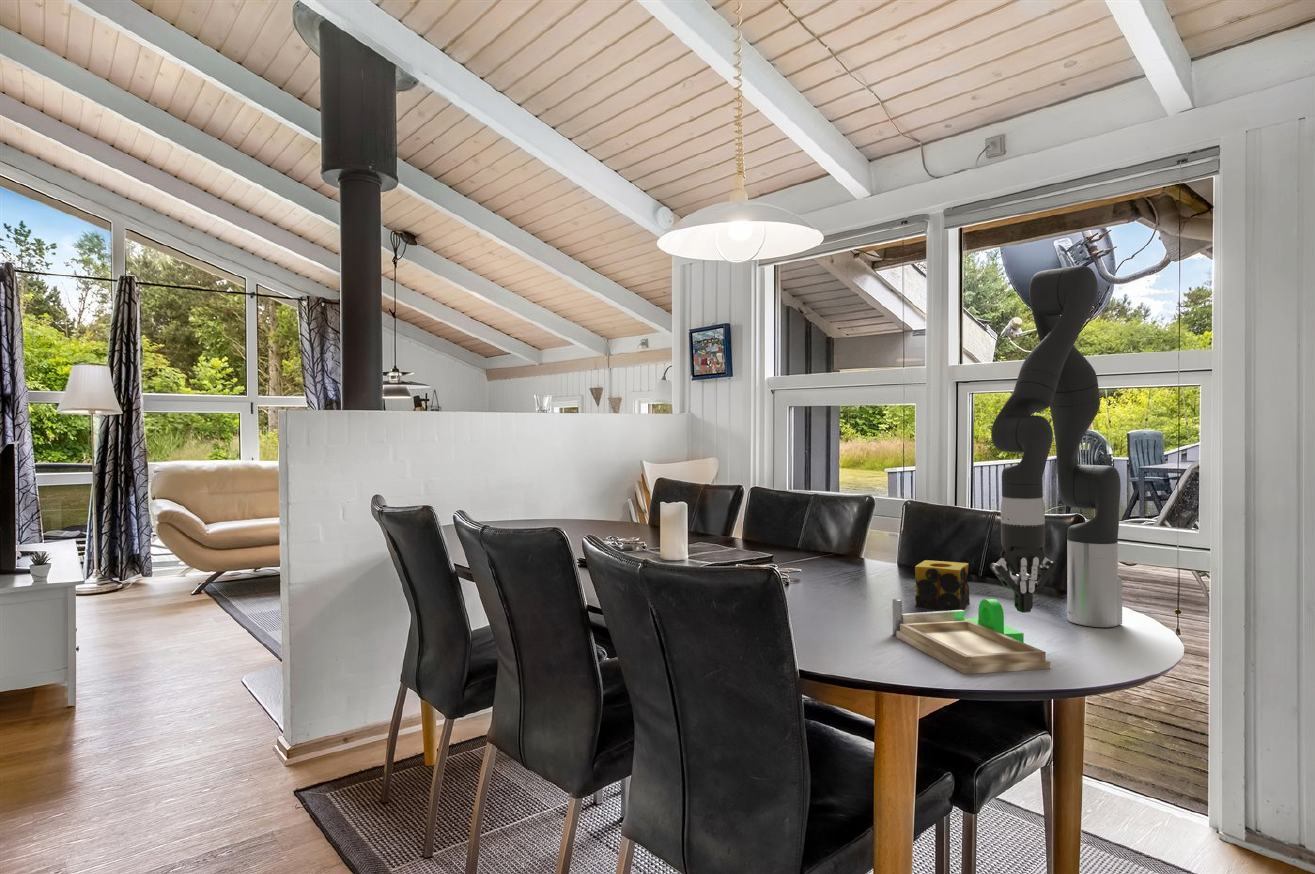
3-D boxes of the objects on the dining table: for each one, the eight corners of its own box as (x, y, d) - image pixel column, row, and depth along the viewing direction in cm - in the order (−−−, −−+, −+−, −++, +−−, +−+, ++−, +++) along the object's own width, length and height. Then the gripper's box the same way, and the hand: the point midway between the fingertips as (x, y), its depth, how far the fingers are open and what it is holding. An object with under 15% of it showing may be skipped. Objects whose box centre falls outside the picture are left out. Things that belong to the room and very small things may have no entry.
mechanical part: (1023, 643, 142) (1023, 601, 142) (993, 644, 142) (993, 602, 142) (989, 627, 154) (989, 588, 154) (961, 628, 154) (961, 589, 154)
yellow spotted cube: (970, 605, 173) (970, 563, 173) (961, 614, 165) (961, 569, 164) (924, 600, 179) (924, 559, 178) (914, 609, 170) (914, 565, 170)
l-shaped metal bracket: (960, 628, 152) (960, 594, 152) (965, 630, 151) (965, 596, 151) (890, 633, 149) (890, 598, 149) (895, 636, 147) (895, 600, 147)
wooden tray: (970, 632, 149) (970, 619, 149) (1050, 668, 126) (1050, 652, 126) (896, 637, 146) (896, 623, 146) (964, 674, 124) (964, 657, 124)
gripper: (1003, 525, 136) (1004, 619, 136) (1067, 521, 138) (1068, 614, 139) (978, 519, 143) (980, 609, 144) (1040, 516, 146) (1041, 604, 146)
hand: (1023, 611), depth 141 cm, fingers closed
